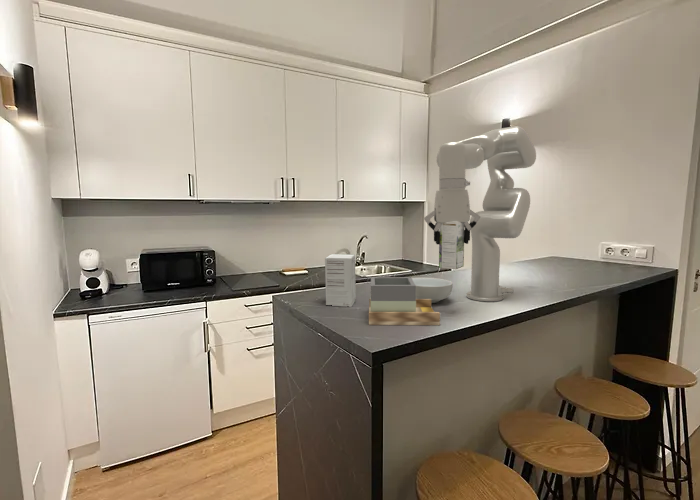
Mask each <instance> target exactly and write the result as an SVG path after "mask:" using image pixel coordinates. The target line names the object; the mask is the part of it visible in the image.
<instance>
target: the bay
mask: <svg viewBox="0 0 700 500" xmlns="http://www.w3.org/2000/svg"><path fill="white" fill-rule="evenodd" d="M368 301H369V304H368V325H369V326H440V325H441V322H440V321H441V313H440V312H439V311H435V310H434V309H433V308H432V303H431V299H416V312H371V302H370V301H371V298H369V300H368Z"/></svg>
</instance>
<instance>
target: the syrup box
mask: <svg viewBox="0 0 700 500" xmlns="http://www.w3.org/2000/svg"><path fill="white" fill-rule="evenodd" d="M464 230H465V227H464V224H463V223H461V222H457V221H447V222H446V223H442V225H441V226H440V228H439V232H440V244H438V245H439V246H438V268H439V269H447V270H449V269H450V270H458V269H460V268H463V267H464V265H465V259H464V257H465V243H464Z"/></svg>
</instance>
